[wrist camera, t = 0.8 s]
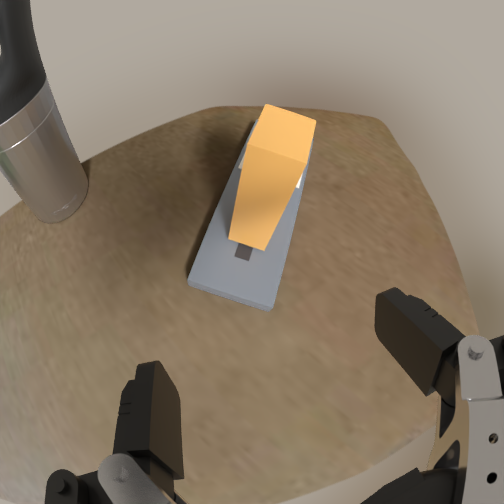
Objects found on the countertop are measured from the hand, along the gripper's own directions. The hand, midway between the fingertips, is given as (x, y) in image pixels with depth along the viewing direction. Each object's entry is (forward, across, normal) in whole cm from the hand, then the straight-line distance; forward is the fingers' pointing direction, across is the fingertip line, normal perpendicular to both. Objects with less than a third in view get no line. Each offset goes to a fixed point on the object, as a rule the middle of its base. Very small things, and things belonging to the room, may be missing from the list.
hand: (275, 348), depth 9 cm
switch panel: (+27, -5, +2) cm, 28 cm away
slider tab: (+22, -3, +3) cm, 22 cm away
